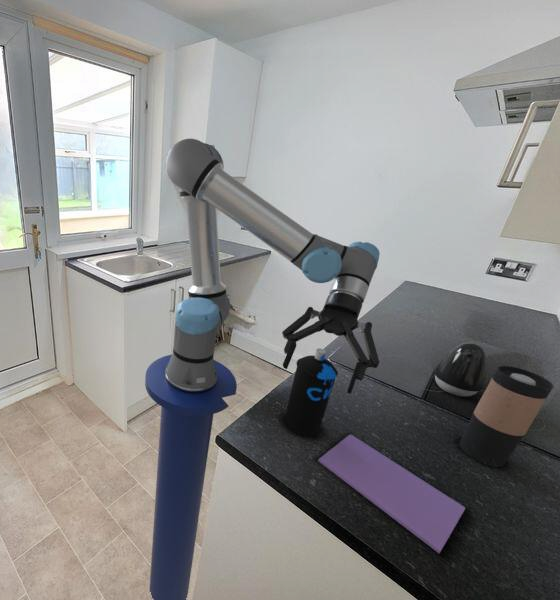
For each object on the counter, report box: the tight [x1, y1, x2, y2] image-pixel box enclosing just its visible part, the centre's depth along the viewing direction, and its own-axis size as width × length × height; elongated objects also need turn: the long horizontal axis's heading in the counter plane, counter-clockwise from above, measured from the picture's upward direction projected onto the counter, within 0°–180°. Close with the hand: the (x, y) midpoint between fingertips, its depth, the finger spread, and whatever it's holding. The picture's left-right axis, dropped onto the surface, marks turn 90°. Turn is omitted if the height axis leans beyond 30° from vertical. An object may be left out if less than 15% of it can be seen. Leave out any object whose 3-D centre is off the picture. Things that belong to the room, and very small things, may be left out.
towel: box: [318, 434, 466, 554], centre depth 59 cm, size 20×13×1 cm, turn 34°
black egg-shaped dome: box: [433, 342, 488, 398], centre depth 86 cm, size 10×10×15 cm
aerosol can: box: [282, 347, 339, 438], centre depth 70 cm, size 8×8×20 cm
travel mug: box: [459, 365, 554, 468], centre depth 64 cm, size 8×8×20 cm
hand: (315, 378), depth 70 cm, fingers open, 13 cm apart
